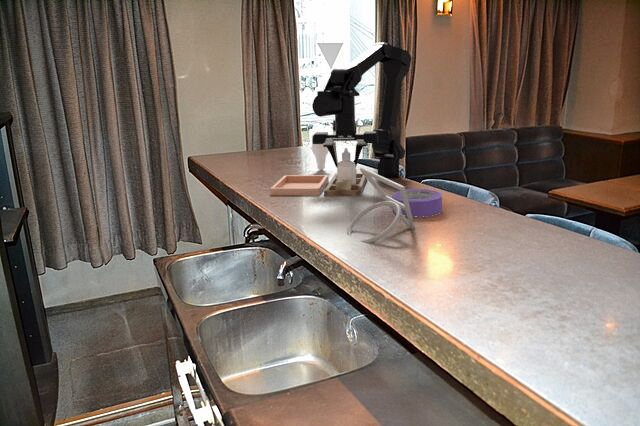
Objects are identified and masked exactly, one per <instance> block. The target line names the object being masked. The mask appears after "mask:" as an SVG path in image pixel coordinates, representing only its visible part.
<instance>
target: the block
mask: <svg viewBox="0 0 640 426" xmlns="http://www.w3.org/2000/svg"><path fill="white" fill-rule="evenodd" d="M335 185H336V190H352V189H351V180H337V181H336V184H335Z"/></svg>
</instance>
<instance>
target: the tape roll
mask: <svg viewBox="0 0 640 426" xmlns="http://www.w3.org/2000/svg"><path fill="white" fill-rule="evenodd" d="M406 193H407V197H408V202H409V206H410V210H411V214H412V216H417V217H416V218H426V217H425V216H429V217H433V216H432V215H435V216H437V215H436V214H438V215H440V214H441V213H442V212H443V211H442V210H443V194H442V193H441V192H440V191H437V190H432V189H428V188H427V189H424V188H413V189H411V188H410V189H406ZM391 195H392V197H391V198H392V199H394V200H396V201H398V202H400V203H402V204H404V202H403V198H402V194H401V191H400V190H398V191H395V192H394V193H393V194H391ZM391 209H392V208H391ZM401 211H402V214H403V215H405V217H407V214H406V211H405V210H403V209H401ZM441 211H442V212H441ZM391 212H392V213H394V214H395V213H396V212H395V211H394V210H393V209H392V211H391ZM439 213H440V214H439ZM423 216H424V217H423Z"/></svg>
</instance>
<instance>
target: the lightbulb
mask: <svg viewBox="0 0 640 426" xmlns="http://www.w3.org/2000/svg"><path fill="white" fill-rule="evenodd" d="M323 145H324V143H323V144H311V152H312V154H313V155H314V157H315V160H316V164H317V169H318V170H319V171H324V169H325V168H326V164H325V163H326V160H327V159H326V158H327V156H328V153H329V150H328V149H327V147H323Z"/></svg>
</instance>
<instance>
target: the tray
mask: <svg viewBox="0 0 640 426" xmlns="http://www.w3.org/2000/svg"><path fill="white" fill-rule="evenodd" d="M329 179H330V178H329V174H320V175H319V174H318V175H317V174H315V175H314V174H312V175H309V174H308V175H306V174H303V175H302V174H295V175H294V174H293V175H291V174H288V175H287V174H286V175H283V176H282V177H281V178H280V179H278V181H277V182H276V183H275V184H274V185H272V187H270V189H269V190H270V196H320V195H321V194H322V192H324V190H325V189H326V187H327V186H328V184H329V182H330V180H329Z"/></svg>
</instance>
